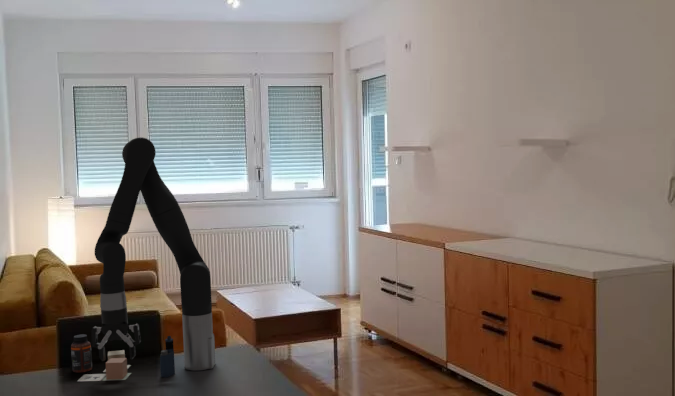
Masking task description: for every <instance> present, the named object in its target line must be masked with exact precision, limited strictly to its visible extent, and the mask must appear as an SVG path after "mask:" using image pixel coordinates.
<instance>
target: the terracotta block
mask: <svg viewBox="0 0 675 396" xmlns="http://www.w3.org/2000/svg"><path fill="white" fill-rule="evenodd" d="M127 365H128V359H127V357H125V358H110V359H109V360H108V359H107V361H106V362H105V369H106V372H105V374H106V375H105V377H106V379H123V378H124V377H125V376H126V375H127V373H128V369H127Z"/></svg>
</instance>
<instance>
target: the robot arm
mask: <svg viewBox="0 0 675 396" xmlns="http://www.w3.org/2000/svg"><path fill="white" fill-rule="evenodd" d="M121 154H122V155H121V156H122V160H123V162H124V168H123V173H122V177H121V179H120V183H119V186H118V188H117V191H116V193H115V195H114V198H113V200H112V203H111V204H110V205H111V206H110V208H109V211H108V215H107V218H106V222H105V224H104V226H103V227H104V228H103V229H102V231H101V233H100V235H99V236H98V239H97V241H96V243H95V245H94V246H95V247H94V258H95V259H96V261H98V262H100V263H101V264H103V266H102V269H103V272H102V274H101V275H100V277H99V291H100V298H99V299H100V301H99V302H100V304H99V308H100V315H101V316H100V317H101V326H96V325H95V326H93V327H92V328H91V333H90V334H91V335H90V336H91V348H93V349H94V348H95V349H98V358H99V360H101V362H105V361H106V359H107V358H106V347H105V346H106V344H107V342H108V341H110V342H112V341H122V340H123V342H124V343H126V344H127V345H128V348H129V349H128V350H129V359H130V360H133V359H134V358H135V357H136V355H137V352H136V351H137V350H136V346H139V345H140V344H141V342H142V336H141V330H140V324H139V323H135V324H129V320H128V308H127V307H128V306H127V304H128V303H127V296H126V291H125V290H126V289H125V278H124V275H125V270H126V260H127V255H126V251H125V248H124V246H123V245H122V244H121V243H120V242H122V238H123V236H125V235H127V234H128V232H129V231H130V227H131V224H132V221H133V217H134V214H135V210H136V207H137V202H138V198H139V195H140V193H141V196H142V198H143V201H144V203H145V206H146V208H147V210H148V213H149V215H150V217H151V220H152V222H153V224H154V226H155V228H156V230H157V232H158V234H159V235H160V237H161V238H162V240H163V242H164V243H165V244H166V245H167V247H168V248H169V250H170V251H171V253H172V255H173V257H174V260H175V262H176V265H177V267H178V270H179V273H180V277H179V278H180V279H179V282H180V283H179V284H180V286H179V287H180V304H181V315H182V317H181V318H182V319H181V320H182V338H183V339H182V340H183V359H184V360H183V361H184V362H183V363H184V369H185V370H188V371H203V370H204V371H205V370H209V369H210V370H211V369H213V368H214V366H215V364H216V347H215V345H216V343H215V333H213V332H214V330H213V329H214V328H213V326H214V325H213V308H212V306H213V303H212V302H213V301H212V281H211V271H210V269H209V267H208V265H207V264H206V262H205V261H204V259H203V257H202V256H201V254H200V251H199V250H198V249H197V247H196V245H195V243H194V240H193V237H192V234H191V232H190V229H189V225H188V223H187V220H186V218H185V215H184V213H183V211H182V208H181V207H180V204H179V203H178V201H177V199H176V197H175V196H174V194H173V192H172V191H171V190H170V188H169V187H168V186H167V185H166V183H165V182H164V181H163V179H162V178H161V175H160V173H159V172H158V171H159V170H158V169H157V166H156V164H155V161H154V160H155V159H156V147H155V145H154V144H153V142H152V141H151V140H150V139H148V138H147V137H142V136H141V137H135V138H132V139H130V140H129V141H128V142H127V143H126V144H125V145H124V147H123V149H122V152H121ZM130 330H131V332H132V333H133V335H134V339H133V338H132V336H131V335H130V334H129V333H128V332H129V331H130ZM100 333H102V334H103V335H104V336H103V338H102V340H101V341H100V342H99V334H100Z"/></svg>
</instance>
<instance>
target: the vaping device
mask: <svg viewBox="0 0 675 396" xmlns="http://www.w3.org/2000/svg"><path fill="white" fill-rule="evenodd" d="M164 341H165V349H164V350H163V349H162V350H161V351H160V356H159V364H160V365H159V366H160V368H159V369H160V377H161V378H169V377H171V376H173V375H175V374H176V367H175V366H176V365H175V351H174V339H173V338H172V335H168V336H167V337H166V338H165V340H164Z"/></svg>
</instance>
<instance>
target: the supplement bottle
mask: <svg viewBox="0 0 675 396" xmlns="http://www.w3.org/2000/svg"><path fill="white" fill-rule="evenodd" d="M70 351H71V352H70V353H71V354H70V355H71V366H72V372H73V373H86V372H89V371H92V369H93V357H92V342H90V341H88V335H87V334H84V333H82V334H77V335H74V336H73V342H72V343H71V345H70Z"/></svg>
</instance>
